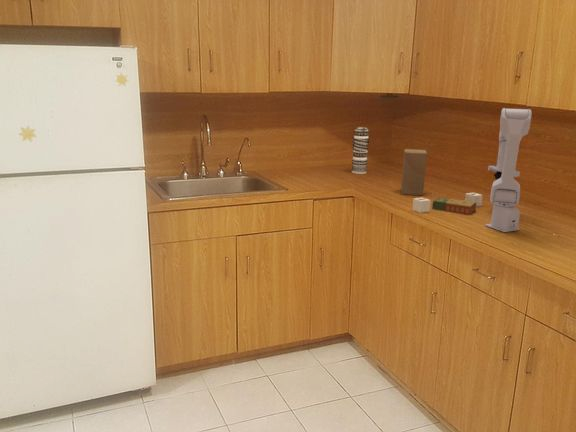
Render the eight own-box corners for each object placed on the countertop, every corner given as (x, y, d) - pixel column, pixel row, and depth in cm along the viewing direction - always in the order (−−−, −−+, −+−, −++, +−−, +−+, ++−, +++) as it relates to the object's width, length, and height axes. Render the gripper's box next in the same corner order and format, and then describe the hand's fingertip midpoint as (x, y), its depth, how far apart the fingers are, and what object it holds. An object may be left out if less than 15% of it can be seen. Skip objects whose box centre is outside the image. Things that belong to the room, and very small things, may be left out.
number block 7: (481, 206, 235) (482, 194, 233) (472, 207, 232) (474, 195, 231) (472, 203, 239) (474, 192, 237) (464, 204, 237) (465, 193, 235)
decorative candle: (360, 174, 297) (363, 128, 290) (347, 172, 303) (349, 127, 296) (370, 172, 303) (373, 127, 296) (357, 170, 309) (359, 126, 302)
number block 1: (429, 211, 223) (430, 199, 222) (420, 213, 221) (421, 200, 219) (421, 208, 227) (422, 197, 226) (412, 210, 225) (413, 198, 224)
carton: (470, 216, 219) (471, 205, 218) (431, 209, 228) (432, 199, 227) (475, 211, 226) (476, 201, 225) (437, 205, 235) (438, 196, 233)
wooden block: (423, 195, 250) (427, 153, 245) (401, 194, 252) (404, 151, 247) (422, 191, 260) (426, 150, 254) (401, 189, 262) (404, 148, 256)
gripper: (527, 160, 213) (522, 193, 217) (498, 154, 225) (494, 186, 229) (514, 161, 210) (509, 195, 213) (485, 155, 222) (481, 187, 226)
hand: (500, 190), depth 221 cm, fingers closed
